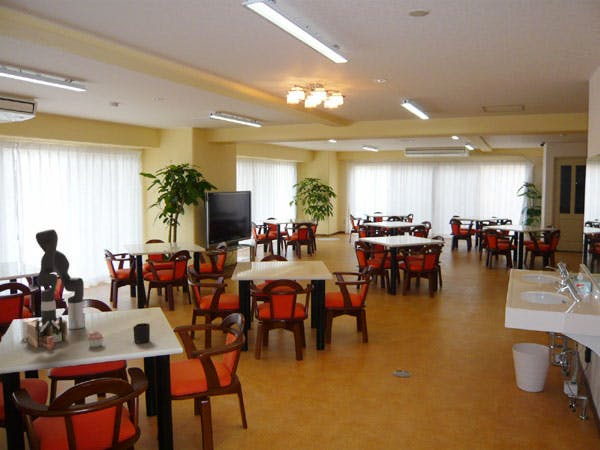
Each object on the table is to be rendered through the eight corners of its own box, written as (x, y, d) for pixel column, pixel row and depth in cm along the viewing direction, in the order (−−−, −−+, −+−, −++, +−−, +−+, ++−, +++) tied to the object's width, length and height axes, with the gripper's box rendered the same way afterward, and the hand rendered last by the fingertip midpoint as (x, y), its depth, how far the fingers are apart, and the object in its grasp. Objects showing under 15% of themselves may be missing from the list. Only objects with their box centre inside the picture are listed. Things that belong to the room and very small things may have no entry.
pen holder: (131, 341, 316) (130, 325, 315) (146, 338, 322) (145, 322, 321) (137, 345, 308) (137, 328, 308) (152, 341, 314) (152, 325, 314)
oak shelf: (58, 336, 328) (57, 317, 327) (67, 340, 318) (66, 321, 317) (27, 342, 315) (26, 322, 314) (36, 347, 306) (35, 327, 305)
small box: (30, 338, 324) (30, 321, 323) (22, 338, 325) (22, 321, 324) (39, 335, 331) (38, 318, 331) (31, 334, 333) (31, 318, 332)
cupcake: (91, 343, 312) (90, 327, 311) (106, 343, 312) (106, 327, 311) (84, 348, 303) (83, 331, 302) (100, 348, 302) (99, 331, 302)
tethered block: (44, 342, 316) (44, 330, 315) (56, 348, 303) (56, 336, 302) (36, 344, 312) (35, 332, 312) (47, 350, 299) (47, 338, 299)
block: (58, 339, 322) (58, 331, 322) (61, 340, 319) (61, 332, 318) (50, 340, 319) (49, 332, 318) (53, 342, 315) (52, 334, 315)
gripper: (58, 305, 308) (59, 332, 309) (33, 309, 298) (34, 337, 299) (63, 307, 303) (64, 335, 304) (37, 311, 293) (38, 340, 294)
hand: (49, 336), depth 301 cm, fingers open, 8 cm apart
